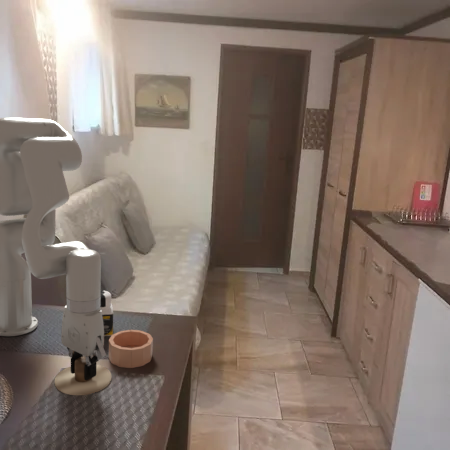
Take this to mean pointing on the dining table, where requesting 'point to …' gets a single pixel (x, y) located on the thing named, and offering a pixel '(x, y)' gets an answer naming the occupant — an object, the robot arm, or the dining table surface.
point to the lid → (82, 379)
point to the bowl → (130, 348)
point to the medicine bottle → (106, 312)
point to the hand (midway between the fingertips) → (83, 373)
